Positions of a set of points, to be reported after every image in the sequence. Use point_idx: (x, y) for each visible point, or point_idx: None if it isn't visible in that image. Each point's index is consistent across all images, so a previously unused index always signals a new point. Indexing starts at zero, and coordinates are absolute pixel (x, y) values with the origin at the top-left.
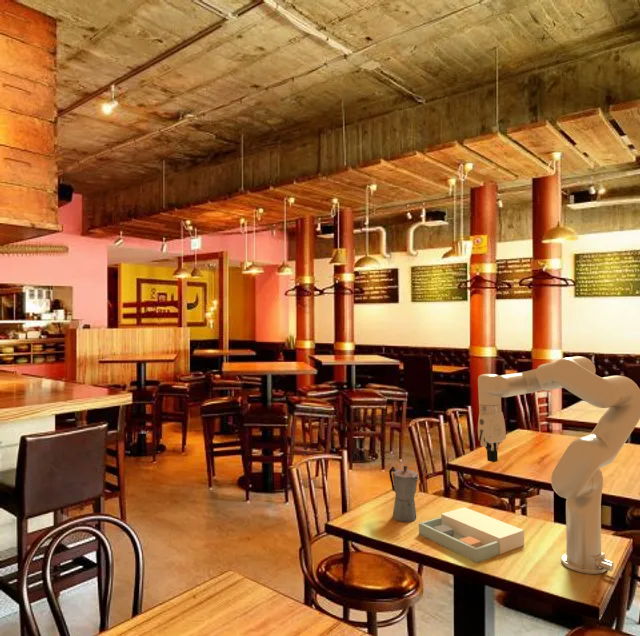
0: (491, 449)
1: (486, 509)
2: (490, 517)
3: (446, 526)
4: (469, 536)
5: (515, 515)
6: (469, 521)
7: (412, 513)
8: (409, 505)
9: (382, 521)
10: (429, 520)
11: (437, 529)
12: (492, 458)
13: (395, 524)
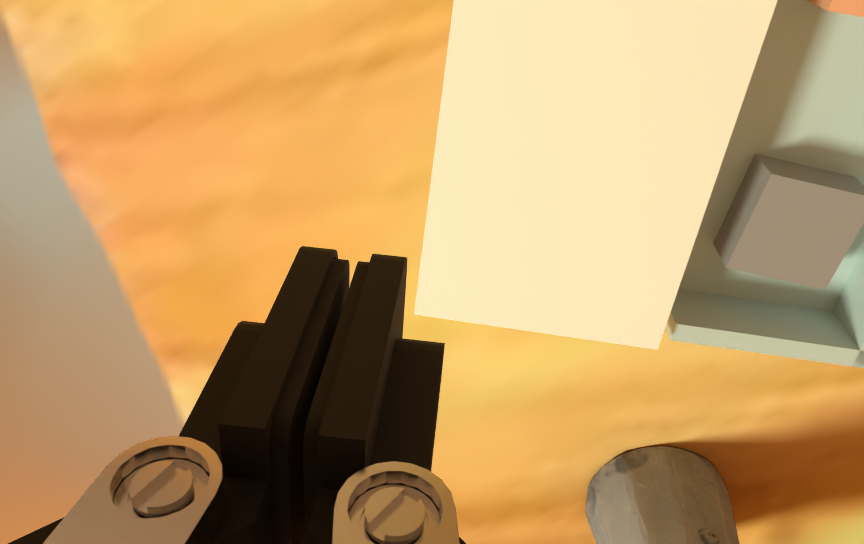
0: (455, 525)
1: (144, 274)
2: (451, 64)
3: (751, 236)
4: (838, 7)
5: (47, 84)
6: (660, 132)
7: (679, 481)
8: (711, 531)
9: (782, 535)
10: (777, 350)
11: (847, 247)
12: (407, 342)
13: (777, 477)
